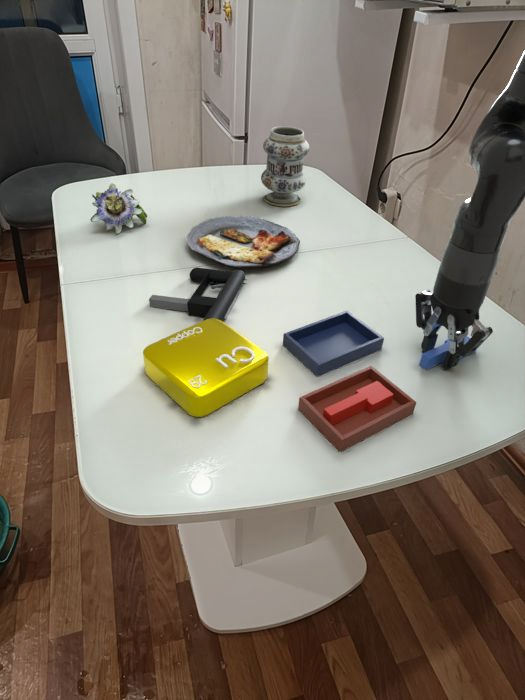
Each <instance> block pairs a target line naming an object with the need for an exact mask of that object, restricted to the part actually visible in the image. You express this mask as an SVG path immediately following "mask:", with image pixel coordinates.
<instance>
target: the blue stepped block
mask: <svg viewBox="0 0 525 700" xmlns="http://www.w3.org/2000/svg"><path fill="white" fill-rule="evenodd" d="M470 338H471V337H469V336H468V335H467V337H466V342H465V344H466V343H467V342H468V341H469V339H470ZM448 350H449V339H448V338H447V339H446V340H444V343H443V344H441V345H438V346H436V347H434V349H432V350H429V351H427V352H425V353H421V357H420V361H419V364H418V365H419V366H420V367H421V368H423V369H424V370H426V371H427V370H429V369H431V368H433V367H435V366H437V365H439V364H441V363H444V360H445V357H446V354H447V351H448ZM476 351H477V349H476V350H475V351H474V352H473V353H470V354H468V355H466V356H464V357H462V356H460V358H459V360H461V359H464V358H465V357H467V356H470V355H471V354H474V353H476Z"/></svg>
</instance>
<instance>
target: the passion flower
mask: <svg viewBox="0 0 525 700" xmlns="http://www.w3.org/2000/svg"><path fill="white" fill-rule="evenodd" d="M133 192H134V190H133V188H129V189H126V190H124V191H122V192H121V190H120V191H119V188H118V187H117V186H116V184H115V183H113V182H111V183H110V184H109V186H108V188H107V189H106V190H104V192H99V191H96V192H95V195H94V194H91V197H92V198H94V201H93V202H91V204H92V206H94V207H96V213H94V214H93V215H92V216H91V217H90V219H89V220H90V222H91V223H97V222H99V221H102V222H103V223H104V226H105V227H104V228H105V230H106V231H107V232H109V231H111V230H113V231H114V232H115V234H116V235H119V234H120V233H122V229H123V226H124V225H125V226H126V227H127V228H130V229H133V228H134V220H133V219H134V218H133V216H136V217H137V218H138V219H139V220H140V221H141V222H142V224H143V225H146V224H147V218H148V214H147V213H146V212H145V210H144V209H143V207H142V206H141V205H140V200H139V199H137V198H135V196H133V194H134V193H133Z"/></svg>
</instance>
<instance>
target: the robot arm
mask: <svg viewBox="0 0 525 700" xmlns="http://www.w3.org/2000/svg"><path fill="white" fill-rule="evenodd" d="M467 158H468V162H469V165H470V167H471V169H472V171H473V172H474V173H475V174H476V176H477V181H476V184H475V187H474V190H473V192H472V194H471V197H469V198H467V199H465V200H464V201H463V202H461V204H460V206H459V208H458V210H457V212H456V215H455V218H454V222H453V224H452V225H453V226H452V230H451V233H450V236H449V238H448V241H447V244H446V246H445V248H444V251H443V254H442V257H441V261H440V264H439V268H438V270H437V274H436V277H435V281H434V285H433V289H432V291H433V292H431V290H430V289H426V290H422V291H420V292H418V293H415V298H414V299H415V325H416V327H417V328H419V329H420V328H421V329H422V330H423V338H422V341H421V345H420V348H421V354H423V353H425V352H427V351H429V350H432V349H434V348H436V347H435V346H436V344H437V341H438V337H439V334H438V332H439V331H440V329H441V328H442V327H444V328H445V329H446V330H447V339H449V350H448V351H447V354H446V357H445V360H444V362H442V366H441V367H442V369H444V370H445V371H447V370H451V369H452V368H454V367H456V366H457V365H458V364H459V361H460V359H459V358H460V356H462V357H463V358H465V357H467V356H469V355H468V354H470V353H472V354H474V353H475V352H474V351H475V350H476V351H477V350H478V349H479V348H480V347H481V346H482V345H483V343H484V342H485V341H486V340H488V339H489V337H490V336H491V335H492V334H493V333H494V330H493V328H492V327H491V326H486V327H485V325H484V324H483V322H481V321H480V309H481V307H482V305H483V304H484V301H485V299H486V296H487V293H488V290H489V288H490V285H491V282H492V280H493V277H494V273H495V271H496V268H497V265H498V262H499V257H500V253H501V249H502V246H503V243H504V241H505V239H506V235H507V233H508V229H509V226H510V222H511V220H512V219H513V218H514V216H515V215H516V213H517V212H518V211H519V209H520V208H521V206H522V204H523V202H524V201H525V50H524V51H523V53H522V56H521V57H520V59H519V61H518V63H517V65H516V69H515V70H514V72H513V74H512V76H511V78H510V80H509V82H508V84H507V85H506V87H505V89H504V90H503V91H502V93H501V94H500V95H499V96H498V98H497V99H496V100H495V101H494V103H493V104H492V106H491V107H490V109H489V110H488V111H487V113H486V114H485V116H484V118H483V119H482V121H481V122H480V123H479V125H478V127H477V128H476V130H475V132H474V134H473V136H472V138H471V142H470V144H469V148H468V155H467ZM470 327H471V328H472V330H471V333H470V337H469V338H470V339H469V341H468V342H467V343H466V344H465V342H466V337H467V336H468V335H469V329H470ZM473 352H474V353H473ZM466 355H467V356H466ZM470 355H471V354H470ZM464 356H465V357H464Z"/></svg>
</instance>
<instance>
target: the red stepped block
mask: <svg viewBox="0 0 525 700" xmlns="http://www.w3.org/2000/svg"><path fill="white" fill-rule="evenodd" d="M393 396H394V394H393V393H392V392H390V391H389V390H388V389H387V388H386V387H384V386H383V385H382V384H381V383H380V382H378V381H376V382H373V383H371V384H369V385H367V386H365V387H363V388H361V389H358V390H356V393H355V395H353V396H351V397H349V398H346V399H344V400H342V401H340V402H338V403H336V404H334V405H331V406H329V407H327V408H325V409H324V412H323V417H324V418H325V419H326V420H327V421H328V422H329V423H330V424H331V425H332V426H333V425H335V424H337V423H339V422H341V421H343V420H345V419H347V418H349V417H351V416H353V415H355V414H357V413H359V412H361V411H363V410H365V409H366V410H367V411H368V412H369V413H372V412H374V411H376V410H378V409H380V408H382V407H384V406H386V405H388V404H390V403H392V400H393Z"/></svg>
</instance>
